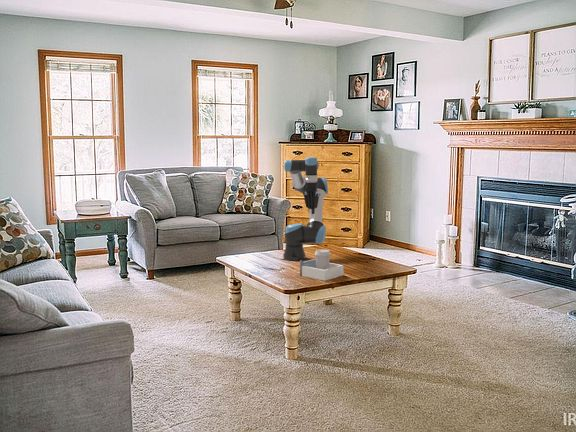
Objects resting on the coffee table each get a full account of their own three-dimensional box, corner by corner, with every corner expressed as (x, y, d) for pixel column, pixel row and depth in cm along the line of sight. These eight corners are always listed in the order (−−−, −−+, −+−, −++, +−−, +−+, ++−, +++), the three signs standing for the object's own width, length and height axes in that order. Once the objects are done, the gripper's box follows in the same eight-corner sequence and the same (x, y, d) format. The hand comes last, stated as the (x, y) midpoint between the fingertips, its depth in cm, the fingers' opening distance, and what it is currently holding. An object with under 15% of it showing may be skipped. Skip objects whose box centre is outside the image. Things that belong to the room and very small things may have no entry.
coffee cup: (313, 273, 340) (313, 249, 338) (329, 273, 341) (329, 248, 339) (315, 277, 331) (315, 252, 328) (332, 277, 331) (331, 252, 329)
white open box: (299, 275, 337) (299, 260, 335) (318, 270, 349) (318, 255, 348) (324, 280, 323) (324, 265, 322) (343, 275, 336) (343, 260, 335)
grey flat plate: (303, 274, 337) (303, 262, 336) (301, 274, 338) (301, 262, 337) (317, 270, 346) (317, 258, 345) (316, 270, 347) (316, 258, 346)
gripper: (299, 181, 361) (300, 218, 364) (315, 182, 352) (315, 220, 355) (307, 181, 366) (307, 217, 369) (323, 182, 357) (323, 219, 360)
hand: (311, 218), depth 362 cm, fingers closed
